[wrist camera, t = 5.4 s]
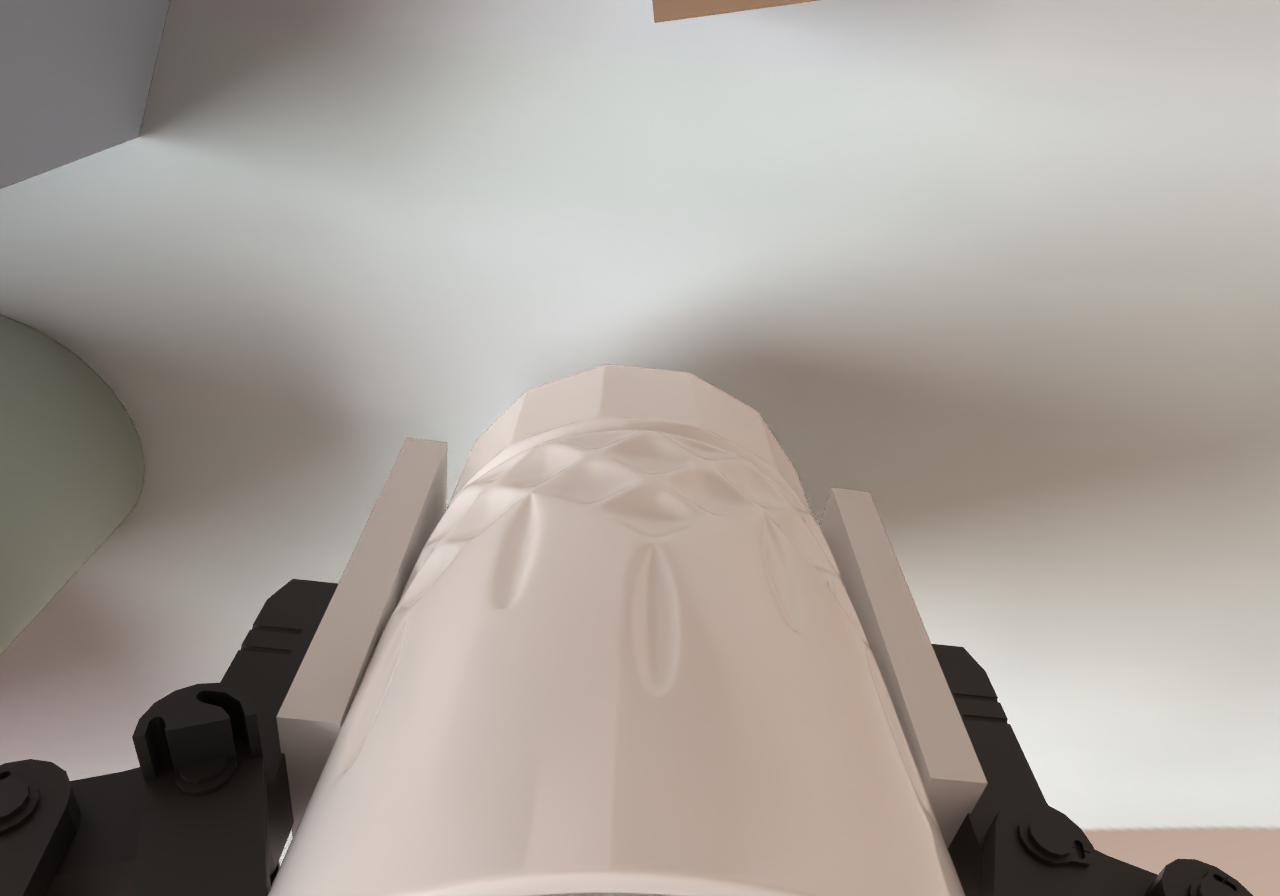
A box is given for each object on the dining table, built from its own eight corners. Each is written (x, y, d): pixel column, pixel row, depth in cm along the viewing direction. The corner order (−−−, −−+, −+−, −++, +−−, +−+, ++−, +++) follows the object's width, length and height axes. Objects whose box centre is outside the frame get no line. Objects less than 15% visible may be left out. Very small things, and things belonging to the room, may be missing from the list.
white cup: (736, 684, 19) (809, 1272, 11) (400, 602, 18) (184, 1198, 10) (897, 403, 15) (1211, 984, 7) (482, 272, 14) (237, 790, 6)
